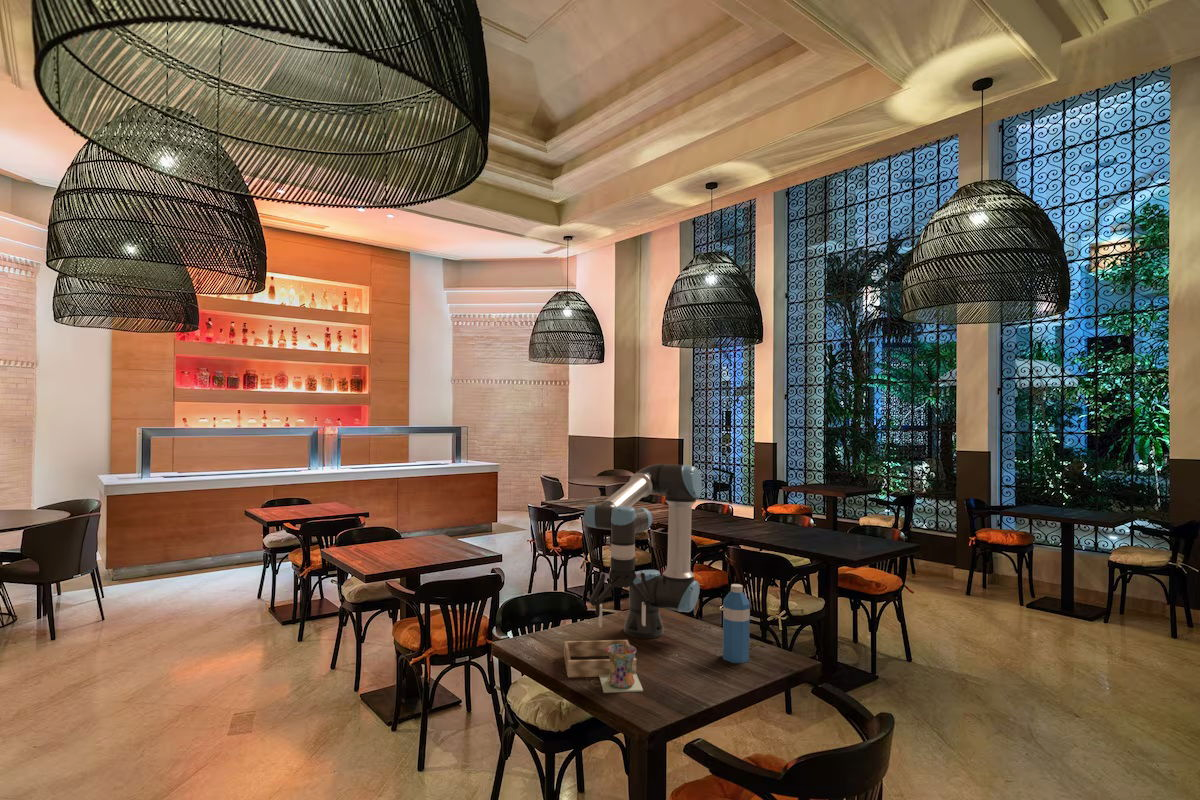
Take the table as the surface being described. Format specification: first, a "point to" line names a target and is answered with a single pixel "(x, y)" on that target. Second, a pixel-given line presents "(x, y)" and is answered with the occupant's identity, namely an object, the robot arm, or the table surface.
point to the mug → (621, 665)
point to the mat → (611, 689)
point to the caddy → (590, 666)
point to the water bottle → (736, 625)
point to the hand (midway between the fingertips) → (622, 625)
